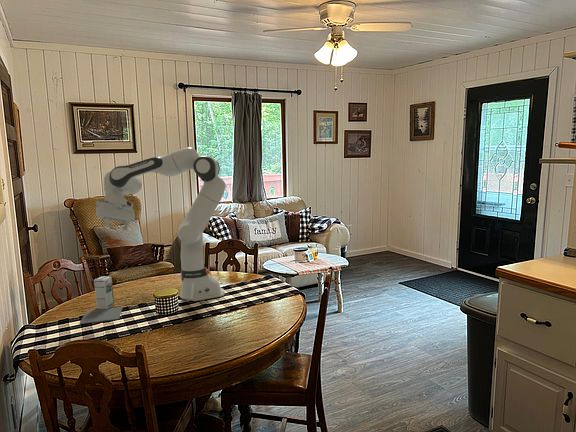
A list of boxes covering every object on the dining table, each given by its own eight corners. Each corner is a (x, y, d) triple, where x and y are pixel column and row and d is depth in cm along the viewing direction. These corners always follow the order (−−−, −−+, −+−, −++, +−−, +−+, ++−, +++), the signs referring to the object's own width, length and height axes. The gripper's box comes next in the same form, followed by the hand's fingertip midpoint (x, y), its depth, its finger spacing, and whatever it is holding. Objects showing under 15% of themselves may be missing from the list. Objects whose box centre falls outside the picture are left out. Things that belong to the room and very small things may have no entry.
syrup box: (107, 309, 201) (104, 279, 199) (96, 308, 202) (93, 279, 201) (114, 305, 207) (112, 276, 205) (103, 304, 208) (101, 275, 206)
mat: (122, 307, 203) (122, 306, 203) (119, 319, 188) (119, 318, 188) (86, 311, 199) (85, 311, 199) (79, 324, 183) (79, 323, 183)
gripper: (100, 196, 200) (102, 223, 196) (135, 204, 218) (138, 229, 213) (91, 200, 203) (93, 227, 199) (127, 208, 220) (129, 233, 216)
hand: (117, 228), depth 206 cm, fingers open, 8 cm apart
